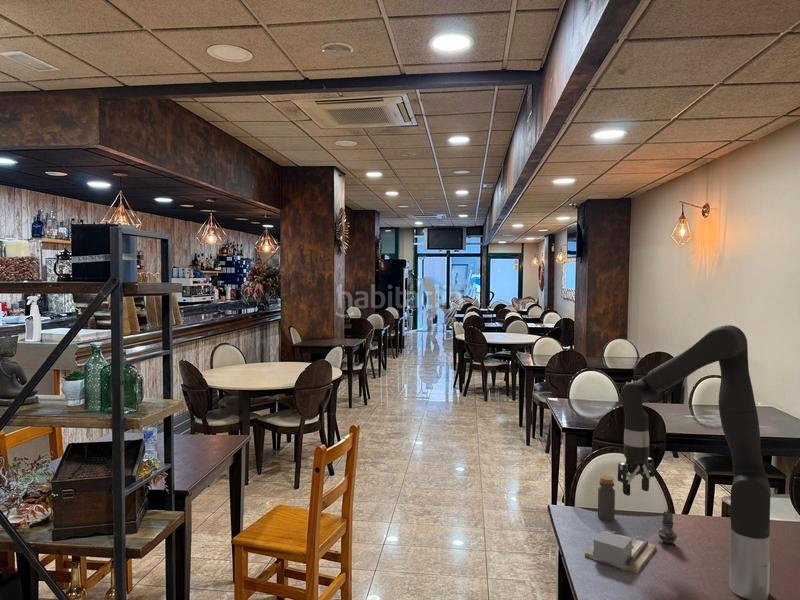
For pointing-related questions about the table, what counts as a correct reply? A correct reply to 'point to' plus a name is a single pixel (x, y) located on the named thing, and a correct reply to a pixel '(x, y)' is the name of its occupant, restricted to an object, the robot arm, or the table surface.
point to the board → (639, 554)
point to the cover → (612, 548)
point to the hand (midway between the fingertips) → (636, 492)
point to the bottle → (606, 499)
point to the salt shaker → (667, 531)
